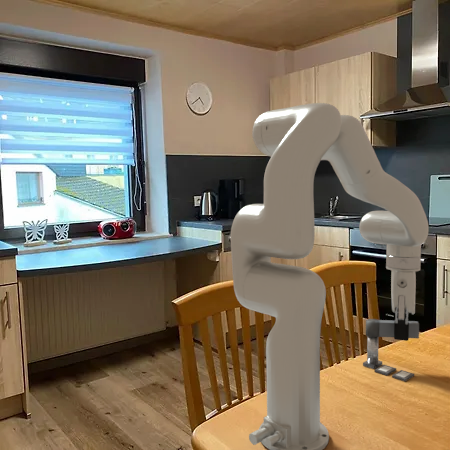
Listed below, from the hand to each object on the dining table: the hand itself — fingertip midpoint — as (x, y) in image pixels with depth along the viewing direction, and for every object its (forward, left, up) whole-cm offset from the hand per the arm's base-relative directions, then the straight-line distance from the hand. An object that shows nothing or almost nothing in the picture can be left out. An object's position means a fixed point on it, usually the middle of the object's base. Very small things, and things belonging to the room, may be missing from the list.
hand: (401, 338), depth 111 cm
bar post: (-1, +7, -8) cm, 11 cm away
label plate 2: (-2, -2, -8) cm, 9 cm away
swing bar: (+2, +3, -1) cm, 4 cm away
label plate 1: (-2, +3, -8) cm, 9 cm away
